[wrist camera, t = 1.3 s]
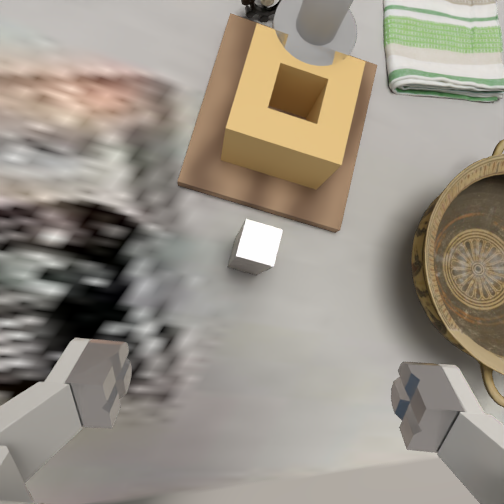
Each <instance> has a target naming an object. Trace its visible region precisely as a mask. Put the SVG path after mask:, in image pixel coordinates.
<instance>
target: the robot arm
mask: <svg viewBox="0 0 504 504" xmlns="http://www.w3.org/2000/svg"><path fill="white" fill-rule="evenodd" d="M128 352H129V349H128V344H127V343H125V342H118V341H107V340H97V339H83V338H74V339H73V340H72V341H70V343H69V344H68V346H67V347H66V349H65V351H64V352H63V354H62V355H61V357H60V358H59V360H58V361H57V363H56V364H55V366H54V368H53V369H52V371H51V372H50V374H49V375H48V377H47V378H46V380H45V381H44V382H38V383H36V384H35V385H33V386H31V387H30V388H28V389H27V390H25V391H24V392H22V393H20V394H19V395H17V396H16V397H14V398H12V399H11V400H9V401H8V402H6V403H5V404H3V405H1V406H0V504H45V503H34V502H33V498H32V496H31V494H30V492H29V490H28V488H27V486H26V484H25V482H26V481H27V480H28V479H29V478H30V477H32V476H33V475H34V474H35V473H36V472H37V471H38V470H39V469H40V468H41V467H42V466H43V465H44V464H45V463H46V462H48V461H49V460H50V459H51V458H52V457H53V456H54V455H55V454H56V453H57V452H58V451H59V450H60V449H61V448H62V447H64V446H65V445H66V444H67V443H68V442H69V441H70V440H71V439H72V438H73V437H74V436H75V435H76V434H77V433H78V432H80V431H81V430H82V427H93V428H113V426H114V423H115V421H116V418H117V416H118V413H119V411H120V408H121V406H120V400H119V399H120V398H122V397H123V396H124V395H126V393H127V390H128V388H129V385H130V380H131V370H132V368H131V362H130V361H129V360H128V359H127V358H126V357H127V355H128ZM398 372H399V375H400V377H399V378H397V379H396V380H394V382H393V385H392V388H391V401H392V406H393V410H394V413H395V414H396V415H397V416H398V417H399V418H400V419H401V420H402V422H401V425H400V427H399V428H400V431H401V434H402V437H403V440H404V443H405V446H406V449H407V450H416V451H426V452H435V453H437V455H438V456H439V457H440V458H441V459H442V461H443V462H444V463H445V464H446V465H447V466H448V467H449V469H450V470H451V471H452V472H453V473H454V474H455V475H456V477H457V478H458V479H459V480H460V481H461V482H462V483H463V485H464V486H465V487H466V488H467V489H468V490H469V491H470V493H471V494H472V495H473V496H474V497H475V498H476V499H477V501H478V502H479V503H480V504H504V424H503V423H501V422H500V421H499V420H497V419H496V418H495V417H494V416H492V415H491V414H485V412H484V411H483V409H482V407H481V405H480V404H479V402H478V400H477V398H476V397H475V395H474V393H473V391H472V390H471V388H470V386H469V384H468V383H467V381H466V379H465V378H464V376H463V374H462V372H461V371H460V369H459V368H458V367H457V366H456V365H448V364H433V363H417V362H403V363H401V364H400V366H399V369H398Z"/></svg>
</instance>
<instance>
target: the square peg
mask: <svg viewBox="0 0 504 504" xmlns="http://www.w3.org/2000/svg"><path fill="white" fill-rule="evenodd" d="M282 232H283V230H282V229H279V228H276V227H272V226H269V225H266V224H262V223H259V222H255V221H252V220H249V219H246V220H245V222H244V223H243V225H242V227H241V229H240V231H239V232H238V234H237V236H236V238H235V241H234V245H233V248H232V252H231V256H230V259H229V263H228V266H227V267H229V268H232V269H236V270H239V271H243V272H247V273H250V274H254V275H258V274H260V273H262V272H264V271H266V270H268V269H270V268H272V267H274V263H275V259H276V255H277V252H278V248H279V244H280V240H281V236H282Z"/></svg>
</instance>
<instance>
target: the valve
mask: <svg viewBox="0 0 504 504" xmlns="http://www.w3.org/2000/svg"><path fill="white" fill-rule="evenodd" d="M254 1H255V0H241V2H242V4H243V5H247V6H246V7H245V11H246V16H247V17H249V18H251V17H253V16H254V15H255V14H259V17H260V21H261V22H267V21H268V16H269V15H271V14H275V12H276V9H277V7H278V5H279V3H280V2H281V1H282V0H279V2H278V3H277V4H276V5H274V6H273V7H270V8H267V6H269V5H272V4H273V3H274V0H261V4H262V8H261V7H259V6H257V5H256V4H255V2H254ZM248 5H250V7H248Z"/></svg>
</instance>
